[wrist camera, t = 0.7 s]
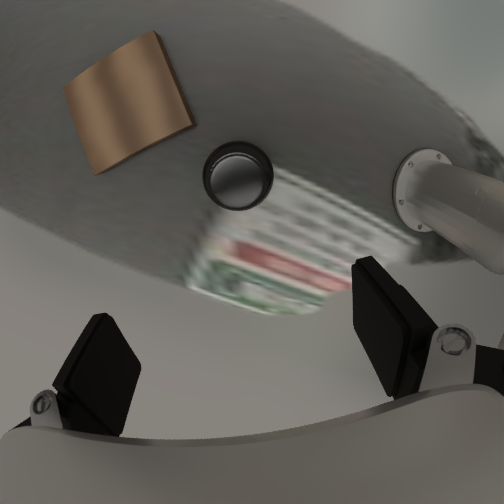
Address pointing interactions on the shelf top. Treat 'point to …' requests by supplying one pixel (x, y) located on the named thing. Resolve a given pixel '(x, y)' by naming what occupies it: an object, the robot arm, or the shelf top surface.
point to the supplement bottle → (238, 176)
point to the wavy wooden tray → (127, 103)
